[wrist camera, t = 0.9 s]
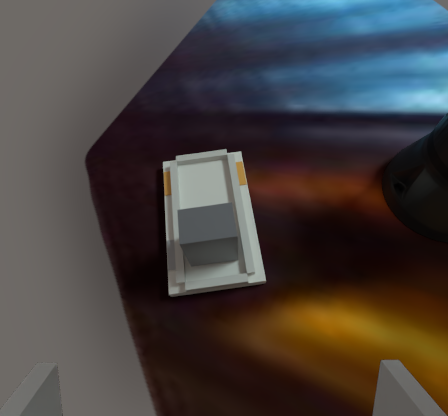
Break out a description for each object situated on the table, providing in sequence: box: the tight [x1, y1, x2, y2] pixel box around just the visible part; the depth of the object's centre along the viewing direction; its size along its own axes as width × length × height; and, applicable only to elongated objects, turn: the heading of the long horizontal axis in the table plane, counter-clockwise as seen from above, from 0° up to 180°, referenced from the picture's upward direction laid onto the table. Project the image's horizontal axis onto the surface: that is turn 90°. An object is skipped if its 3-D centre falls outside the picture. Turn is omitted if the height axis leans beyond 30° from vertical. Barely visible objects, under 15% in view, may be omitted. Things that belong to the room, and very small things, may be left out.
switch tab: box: [177, 202, 238, 267], centre depth 35 cm, size 4×6×8 cm, turn 97°
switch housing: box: [163, 149, 266, 297], centre depth 42 cm, size 20×12×2 cm, turn 7°
